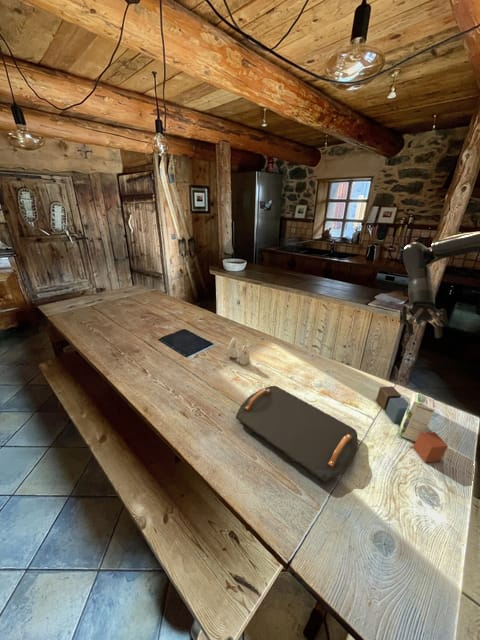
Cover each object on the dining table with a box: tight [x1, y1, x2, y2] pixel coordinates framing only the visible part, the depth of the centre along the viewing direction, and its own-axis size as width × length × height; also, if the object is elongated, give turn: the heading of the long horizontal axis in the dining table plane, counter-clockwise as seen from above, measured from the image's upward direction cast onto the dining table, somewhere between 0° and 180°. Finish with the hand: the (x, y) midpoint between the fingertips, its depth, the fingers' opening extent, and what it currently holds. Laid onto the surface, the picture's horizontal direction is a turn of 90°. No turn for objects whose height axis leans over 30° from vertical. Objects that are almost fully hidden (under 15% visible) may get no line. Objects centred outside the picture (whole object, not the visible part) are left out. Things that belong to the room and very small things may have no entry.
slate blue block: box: [384, 397, 410, 424], centre depth 93 cm, size 5×5×6 cm
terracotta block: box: [413, 431, 449, 463], centre depth 80 cm, size 5×5×6 cm
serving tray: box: [235, 385, 359, 483], centre depth 87 cm, size 39×23×6 cm, turn 48°
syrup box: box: [399, 392, 436, 443], centre depth 85 cm, size 6×6×14 cm
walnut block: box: [375, 385, 402, 411], centre depth 98 cm, size 5×5×6 cm
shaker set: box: [225, 337, 251, 365], centre depth 122 cm, size 12×4×11 cm, turn 52°
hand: (424, 336), depth 90 cm, fingers open, 8 cm apart
